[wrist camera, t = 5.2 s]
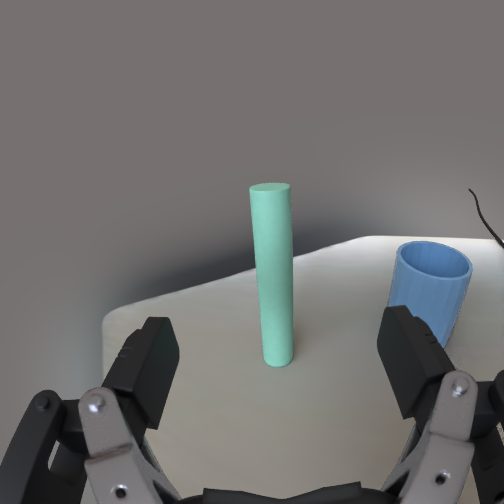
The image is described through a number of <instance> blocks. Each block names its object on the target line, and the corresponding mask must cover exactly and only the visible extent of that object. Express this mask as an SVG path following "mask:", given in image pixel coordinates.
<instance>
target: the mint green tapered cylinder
mask: <svg viewBox="0 0 504 504" xmlns="http://www.w3.org/2000/svg"><path fill="white" fill-rule="evenodd" d="M249 190H250V203H251V214H252V225H253V237H254V248H255V261H256V272H257V284H258V296H259V308H260V320H261V332H262V344H263V356H264V360H265V362H266V363H267V364H268V365H270V366H273V367H282V366H285V365H287V364H289V363H290V362H291V360H292V358H293V245H292V213H291V189H290V185H288V184H284V183H264V184H258V185H254V186H252V187H250V189H249Z"/></svg>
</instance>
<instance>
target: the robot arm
mask: <svg viewBox="0 0 504 504" xmlns="http://www.w3.org/2000/svg"><path fill="white" fill-rule="evenodd" d="M469 191H470V192H471V193H472V194H473V195H474V197H475V200H476V205H477V210H478V213H479V216H480V218H481V219H482V221H483V223H484V224H485V226H486V227H487V228H488V230H489V231H490V233H491V234H492V235H493V236H494V237H495V239H496V240H497V241H498V242H499V243H500V244H501V245H502V247H503V248H504V243H503V242H502V240H501V239H500V238H499V237H498V236H497V235H496V234H495V233H494V232H493V230H492V229H491V228H490V227H489V225H488V224H487V223H486V221H485V220H484V218H483V216H482V214H481V212H480V209H479V205H478V200H477V197H476V195H475V194H474V193H473V191H471V190H470V189H469ZM377 348H378V353H379V355H380V358H381V360H382V363H383V365H384V368H385V370H386V373H387V376H388V378H389V381H390V383H391V386H392V389H393V391H394V394H395V397H396V400H397V403H398V405H399V408H400V411H401V414H402V417H403V420H404V419H407V418H411V417H414V418H415V421H416V423H415V424H414V426H413V428H412V431H411V433H410V435H409V438H408V440H407V442H406V445H405V447H404V449H403V451H402V453H401V456H400V458H399V460H398V462H397V464H396V466H395V467H394V469H393V471H392V472H391V474H390V475H389V476H388V478H387V479H386V481H385V482H384V484H383V485H382V487H381V489H380V490H375V489H369V488H361V483H360V481H359V482H354V483H349V484H343V485H337V486H330V487H323V488H320V489H317V490H314V491H311V492H308V493H305V494H301V495H298V496H294V497H291V498H287V499H276V498H271V497H266V496H261V495H256V494H252V493H248V492H244V491H232V490H218V489H208V488H204V490H203V495H197V496H192V497H188V498H184V499H182V498H181V497H180V495H179V494H178V492H177V491H176V489H175V488H174V486H173V485H172V484H171V483H170V481H169V480H168V479H167V477H166V476H165V474H164V472H163V470H162V469H161V467H160V465H159V463H158V461H157V459H156V457H155V455H154V453H153V451H152V449H151V447H150V445H149V443H148V441H147V439H146V437H145V436H144V434H145V431H146V428H150V429H156V430H157V429H158V426H159V423H160V419H161V416H162V413H163V410H164V406H165V403H166V400H167V397H168V394H169V390H170V387H171V384H172V381H173V378H174V375H175V372H176V369H177V366H178V362H179V346H178V343H177V340H176V337H175V334H174V331H173V328H172V324H171V321H170V319H169V318H168V317H148V318H147V320H146V322H145V323H144V325H143V327H142V329H137V330H136V331H134V332H133V333H132V334H131V335H130V336H129V337H128V338H127V339H126V341H125V343H124V345H123V346H122V349H121V350H120V352H119V354H118V357H116V359H115V361H114V363H113V365H112V367H111V369H110V370H109V372H108V374H107V376H106V378H105V380H104V382H103V384H102V386H101V387H96V388H93V389H90V390H88V391H87V392H86V393H84V395H83V396H82V397H81V399H77V400H62V399H61V398H60V397H59V396H58V394H57V393H56V392H54V391H52V390H44V391H41V392H39V393H38V394H36V395H35V396H34V398H33V399H32V401H31V403H30V404H29V406H28V408H27V410H26V412H25V414H24V416H23V418H22V420H21V422H20V423H19V426H18V427H17V430H16V432H15V434H14V436H13V438H12V440H11V442H10V445H9V447H8V449H7V452H6V454H5V456H4V459H3V461H2V463H1V466H0V504H80V502H81V498H82V494H83V491H84V487H85V484H86V480H87V477H88V479H89V482H90V485H91V488H92V491H93V493H94V496H95V499H96V501H97V504H457V503H458V500H459V498H460V495H461V492H462V490H463V487H464V484H465V481H466V478H467V475H468V472H469V468H470V465H471V467H472V471H473V475H474V479H475V483H476V487H477V491H478V496H479V501H480V504H504V446H503V443H502V440H501V437H500V435H499V432H498V430H497V427H496V426H497V425H498V423H499V422H500V423H501V425H502V428H503V430H504V370H502V371H500V372H499V373H498V374H497V376H496V378H495V379H494V381H484V382H476V381H475V379H474V378H473V377H472V376H471V375H470V374H468V373H466V372H464V371H458V370H456V369H455V368H454V366H453V364H452V362H451V361H450V359H449V357H448V356H447V354H446V352H445V351H444V349H443V348H442V346H441V344H440V343H438V340H437V338H436V336H435V335H433V332H432V330H431V329H430V327H429V326H428V324H427V323H426V322H424V321H423V320H422V319H420V318H419V317H418V316H414V317H413V315H412V314H411V312H410V310H409V309H408V307H407V306H406V305H398V306H390V307H386V308H385V310H384V313H383V318H382V322H381V326H380V330H379V334H378V338H377ZM56 440H57V441H58V442H59V443H60V444H59V447H58V449H57V452H56V455H55V457H54V460H53V463H52V465H51V468H50V471H49V468H48V460H49V457H50V454H51V452H52V449H53V447H54V444H55V442H56Z"/></svg>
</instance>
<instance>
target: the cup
mask: <svg viewBox="0 0 504 504" xmlns="http://www.w3.org/2000/svg"><path fill="white" fill-rule="evenodd" d="M472 271H473V268H472V263H471V262H470V260H469V259H468V258H467V257H466V256H465V255H464V254H462V253H461V252H459V251H457V250H456V249H454V248H452V247H449V246H446V245H443V244H439V243H435V242H428V241H413V242H409V243H405V244H403V245H401V246H400V247H399V248H398V250H397V253H396V260H395V266H394V272H393V278H392V283H391V288H390V294H389V298H388V303H387V307H390V306H398V305H406V306H407V307H408V309H409V310H410V312H411V314H412V315H413V317H414V316H418V317H419V318H420V319H422V320H423V321H424V322H426V323H427V324H428V326H429V327H430V329H431V330H432V332H433V335H435V336H436V338H437V340H438V343H440V344H441V346H442V348H443V349H444V347H445V346H446V344H447V342H448V340H449V337H450V335H451V333H452V330H453V328H454V325H455V323H456V320H457V317H458V315H459V312H460V309H461V306H462V304H463V301H464V298H465V295H466V292H467V288H468V285H469V282H470V278H471V275H472Z"/></svg>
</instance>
